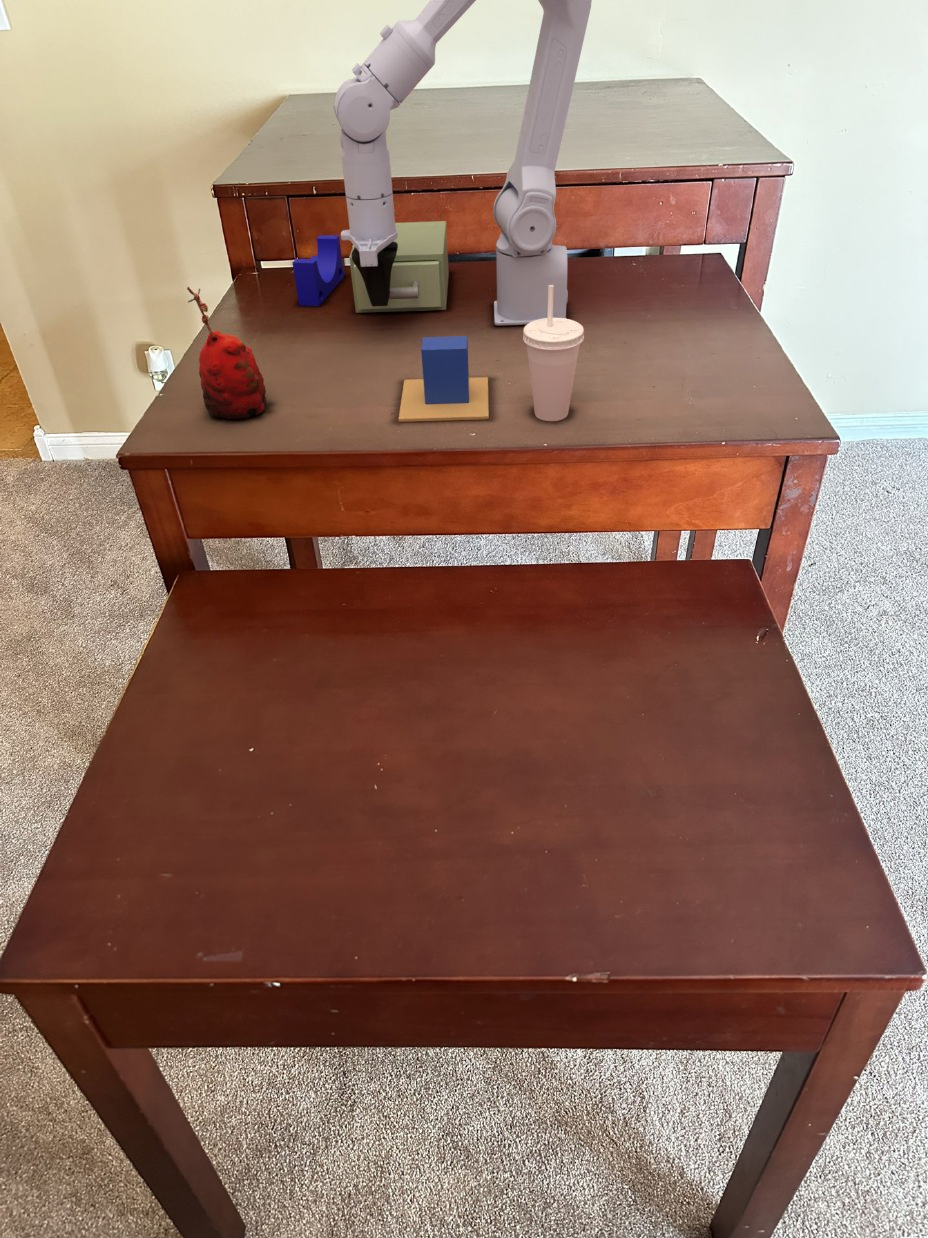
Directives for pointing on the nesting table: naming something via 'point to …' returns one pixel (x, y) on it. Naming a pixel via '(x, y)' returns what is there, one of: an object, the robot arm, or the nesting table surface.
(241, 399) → the red clay folk toy
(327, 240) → the cable clip
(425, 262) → the drawer
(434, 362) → the blue rectangular block
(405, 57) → the robot arm
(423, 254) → the cabinet
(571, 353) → the smoothie
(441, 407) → the mat
